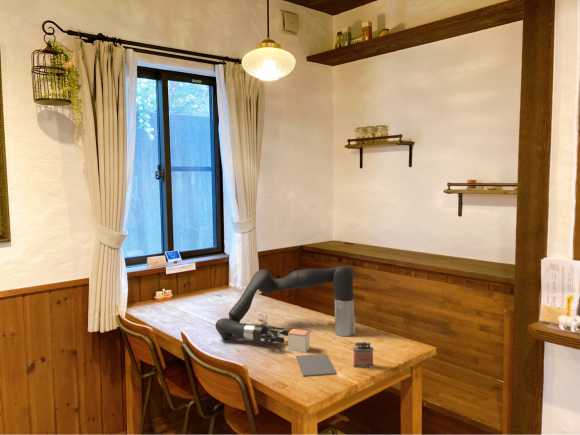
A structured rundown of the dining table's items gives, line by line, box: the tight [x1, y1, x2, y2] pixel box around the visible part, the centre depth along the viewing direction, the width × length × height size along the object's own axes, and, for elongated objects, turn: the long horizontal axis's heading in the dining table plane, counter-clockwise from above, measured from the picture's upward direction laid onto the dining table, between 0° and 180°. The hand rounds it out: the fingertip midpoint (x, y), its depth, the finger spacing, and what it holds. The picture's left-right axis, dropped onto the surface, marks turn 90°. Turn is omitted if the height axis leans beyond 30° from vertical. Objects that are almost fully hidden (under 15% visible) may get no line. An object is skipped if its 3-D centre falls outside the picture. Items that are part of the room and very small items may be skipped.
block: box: [287, 328, 310, 353], centre depth 198 cm, size 8×6×8 cm
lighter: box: [352, 340, 374, 368], centre depth 179 cm, size 8×3×10 cm, turn 92°
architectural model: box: [254, 312, 268, 328], centre depth 228 cm, size 3×7×7 cm, turn 33°
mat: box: [295, 353, 337, 377], centre depth 181 cm, size 13×19×1 cm
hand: (287, 337), depth 199 cm, fingers open, 8 cm apart
